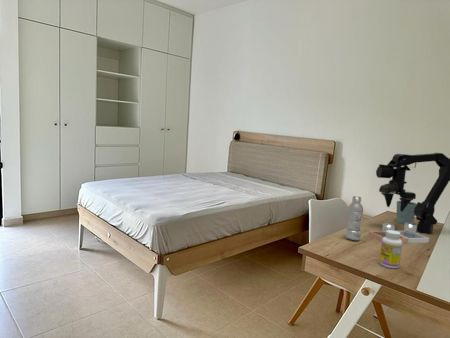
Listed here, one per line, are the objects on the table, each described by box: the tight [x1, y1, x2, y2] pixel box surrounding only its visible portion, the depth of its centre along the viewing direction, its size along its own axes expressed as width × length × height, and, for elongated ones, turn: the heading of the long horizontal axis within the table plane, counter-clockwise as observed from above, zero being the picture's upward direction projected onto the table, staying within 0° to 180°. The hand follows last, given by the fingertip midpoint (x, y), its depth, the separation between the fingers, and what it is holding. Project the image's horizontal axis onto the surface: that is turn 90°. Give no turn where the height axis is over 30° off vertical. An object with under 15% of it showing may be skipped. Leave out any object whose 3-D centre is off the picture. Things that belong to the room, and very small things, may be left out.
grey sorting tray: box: [367, 230, 431, 245], centre depth 146 cm, size 24×12×3 cm, turn 103°
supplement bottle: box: [379, 230, 403, 269], centre depth 116 cm, size 7×7×13 cm
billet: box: [403, 223, 418, 238], centre depth 147 cm, size 5×5×7 cm
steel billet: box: [381, 222, 396, 237], centre depth 145 cm, size 5×5×7 cm
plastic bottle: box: [345, 196, 364, 241], centre depth 143 cm, size 6×7×20 cm
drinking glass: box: [396, 200, 417, 225], centre depth 181 cm, size 10×10×12 cm
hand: (394, 209), depth 160 cm, fingers open, 9 cm apart
